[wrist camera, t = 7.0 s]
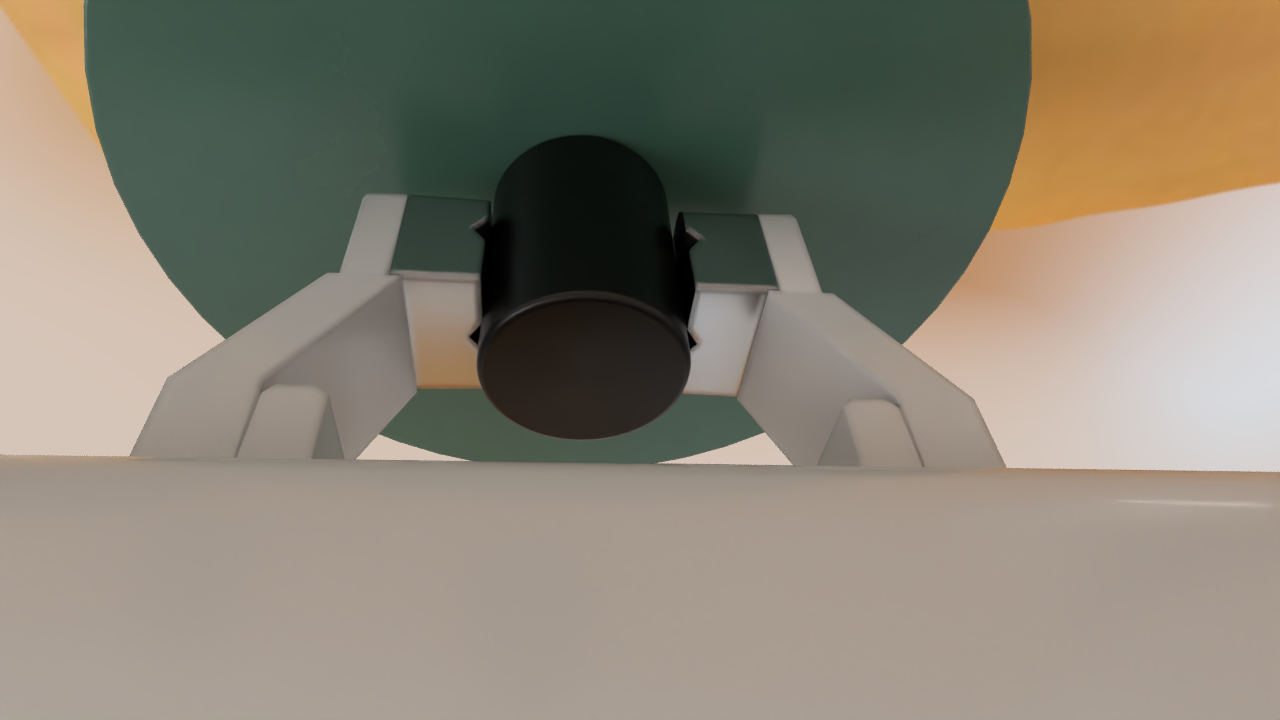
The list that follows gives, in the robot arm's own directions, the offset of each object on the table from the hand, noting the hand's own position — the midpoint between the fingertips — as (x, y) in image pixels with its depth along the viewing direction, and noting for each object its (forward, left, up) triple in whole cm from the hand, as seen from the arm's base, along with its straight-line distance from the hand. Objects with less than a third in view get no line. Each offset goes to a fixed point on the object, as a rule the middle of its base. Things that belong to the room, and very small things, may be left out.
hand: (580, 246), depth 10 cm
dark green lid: (0, 0, -1) cm, 1 cm away
